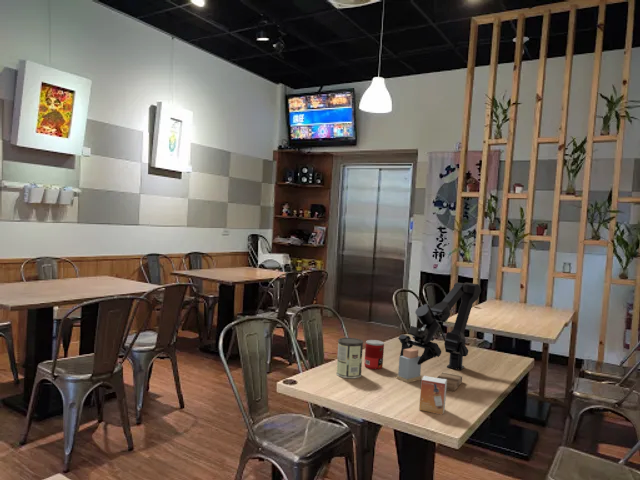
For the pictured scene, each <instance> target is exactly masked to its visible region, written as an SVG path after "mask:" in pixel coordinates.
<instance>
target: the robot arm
mask: <svg viewBox="0 0 640 480" xmlns="http://www.w3.org/2000/svg"><path fill="white" fill-rule="evenodd" d="M481 293H482V288H481V286H480V285H479V284H478V283H472V282H464V283H463V282H455V283H454V285H453V287H452V289H450V291H449V292H448V293H447V294H446V296H444V298H443V299H442V301H440V302H439V303H435V304H434V306H432V307H431V306H430V305H429V304H427V303H424V304H423V305H421V306H419V307H417V308H416V309H415V312H414V313H415V316H416V317H417V319H418V320H419V322H420V323H421V325H422V327H418V326H413V325H410V326H409V329H408V332H407V333H408V334H409V335H408V334H402V333H401V334H400V335H399V337H398V338H397V339H398V340H399V342H400V343H401V350H400V353H399V356H403V349H408V348H413V346H415V347H418V348H421V349H423V352H422V354H421V357H420V359H419V361H418V363H417V364H418V365H420V364H421V365H422V364H424V363H425V362H427V361H428V360H431V359H433V358H435V359H436V357H437V358H439V357H440V356H441V354H442V349H441V347H440V346H439V345H438V343H437V342H434V340H435V338H434V336H435V334H436V333H437V331H438V332H442V325H441V324H440V323H446V322H447V321H448V319H449V318H450V316H451V311H452V308H453V307H454V306H455V305H456V303H457V302H458V301H459V300H460V298H461V303H460V305H459V308H458V311H457V315H456V319H455V321H454V324H453V329H452V330H451V331H447V333H446V336H445V338H444V343H443V344H444V349H445V350H444V351H445V353H449V361H448V364H447V366H446V368H448V369H452V370H458V371H462V370H463V368H464V369H465V365H463V362H464V361H463V360H464V359H463V358H464V357H467V356H468V355H469V349H468V347H467V346H466V336H465V331H466V328H467V323H468V321H469V318H470V314H471V310H472V308H473V305H474V303H476V301H477V300H478V299H479V298H480V294H481ZM439 322H440V323H439ZM410 335H411V337H412V338H413V339H412V338H411V337H410Z"/></svg>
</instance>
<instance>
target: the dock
mask: <svg viewBox="0 0 640 480" xmlns="http://www.w3.org/2000/svg"><path fill="white" fill-rule="evenodd" d="M436 378H440V379H447V387H446V391H449V392H455V391H456V390H457V389H458V388H459V386H460V385H461V384H462V383H463V375H459V374H455V373H454V374H453V373H449V372H444V371H441V373H440V374H439V375H438V376H437V377H436Z"/></svg>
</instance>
